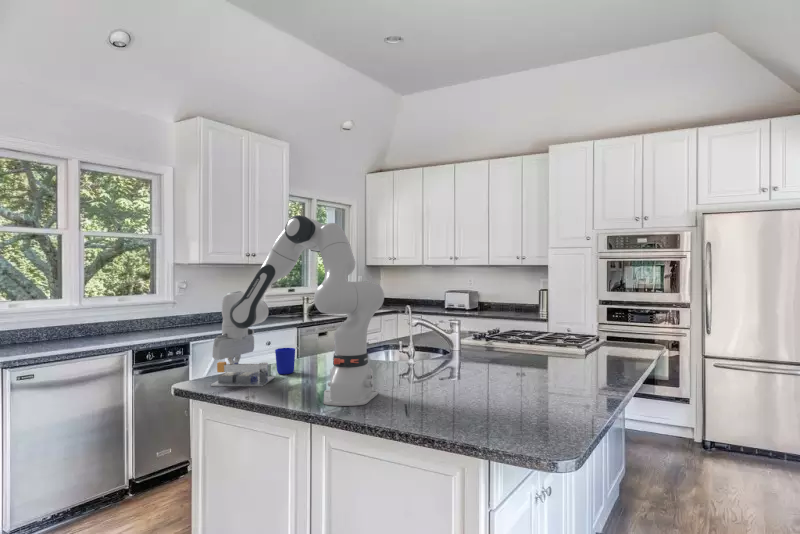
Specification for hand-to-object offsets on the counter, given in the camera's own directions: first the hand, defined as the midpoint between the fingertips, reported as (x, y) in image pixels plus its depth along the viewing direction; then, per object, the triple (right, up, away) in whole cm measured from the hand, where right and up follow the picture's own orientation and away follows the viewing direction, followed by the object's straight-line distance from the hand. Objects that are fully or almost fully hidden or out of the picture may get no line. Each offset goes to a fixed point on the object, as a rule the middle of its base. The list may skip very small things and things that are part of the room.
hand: (234, 367), depth 205 cm
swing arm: (+5, -1, -5) cm, 7 cm away
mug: (+18, -5, +12) cm, 22 cm away
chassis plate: (+5, -5, -5) cm, 9 cm away
